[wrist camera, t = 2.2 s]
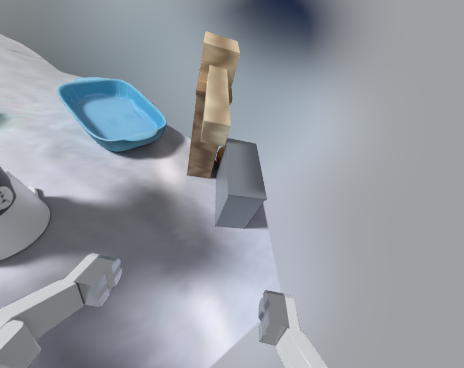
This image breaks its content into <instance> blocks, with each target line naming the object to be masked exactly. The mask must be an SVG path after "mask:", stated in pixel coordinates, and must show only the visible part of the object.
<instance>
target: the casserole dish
mask: <svg viewBox="0 0 464 368" xmlns="http://www.w3.org/2000/svg"><path fill="white" fill-rule="evenodd" d="M57 93H58V96H59V98H60V99H61V101H62V102H63V103H64V105H65V106H66V107H67V108H68V110H69V111H70V112H71V113H72V115H73V116H74V117H75V118H76V120H77V121H78V122H79V123H80V124H81V126H82V127H83V128H84V129H85V130H86V131H87V133H88V134H89V135H90V136H91V137H92V138H93V139H94V140H95V141H96V142H97V143H98V144H99V145H101V146H102V147H104V148H106V149H108V150H110V151H117V152H118V151H125V150H129V149H133V148H136V147H139V146H142V145H145V144H149V143H151V142H154V141H156V140H157V139H159V138H160V137H161V135H162V133H163V131H164V129H165V126H166V123H167V122H166V118H165V117H164V115H163V114H162V113H161V112H160V111H159V110H158V109H157V108H156V107H155V106H154V105H153V104H152V103H151V102H150V101H148V100H147V98H146V97H144V96H143V95H142V94H141V93H140V92H139V91H138V90H137V89H136V88H135V87H133V86H132V85H131V84H129V83H127V82H125V81H122V80H118V79H105V78H98V77H91V78H80V79H76V80H74V81H73V82H69V83H65V84H62V85H60V86H59V87H58V89H57Z"/></svg>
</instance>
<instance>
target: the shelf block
mask: <svg viewBox="0 0 464 368" xmlns="http://www.w3.org/2000/svg"><path fill="white" fill-rule="evenodd" d="M200 68H201V67H200ZM199 76H200V73H199ZM206 87H207V83H203V82H200V81H199V78H198V84H197V89H196V95H197V97H196V106H195V114H194V122H193V130H192V138H191V146H190V154H189V163H188V171H187V175H189V176H196V177H203V178H210V176H211V172H212V169H213V165H214V161H215V157H216V154H217V150H218V146H219V145H214V144H209V143H203V142H201V133H202V123H203V114H204V105H205V96H206ZM228 92H229V105H230V103H231V102H232V89H231V90H230V89H228Z"/></svg>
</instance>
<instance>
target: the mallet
mask: <svg viewBox="0 0 464 368" xmlns="http://www.w3.org/2000/svg"><path fill="white" fill-rule="evenodd" d="M239 55H240V52H239V47H238V42H237V41H234V40H231V39H228V38H224V37H222V36H218V35H215V34H212V33H209V32H206V33H205V39H204V44H203V52H202V60H201V68H200V76H199V81H200V82H203V83H207V87H206V96H205V105H204V114H203V123H202V133H201V142H203V143H209V144H214V145H220V146H225V143H226V140H227V136H228V132H229V130H230V126H231V125H230V109H229V92H228V89H230V90H231V86H232V82H233V78H234V75H235V71H236V67H237V63H238V59H239Z"/></svg>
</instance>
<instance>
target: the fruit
mask: <svg viewBox="0 0 464 368" xmlns="http://www.w3.org/2000/svg"><path fill="white" fill-rule="evenodd" d="M224 147H225V146H223V147H221V148H220V149H219V151H218V153H217V157H216V160H217V162H218V164H220V160H221V157H222V154H223V151H224Z"/></svg>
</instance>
